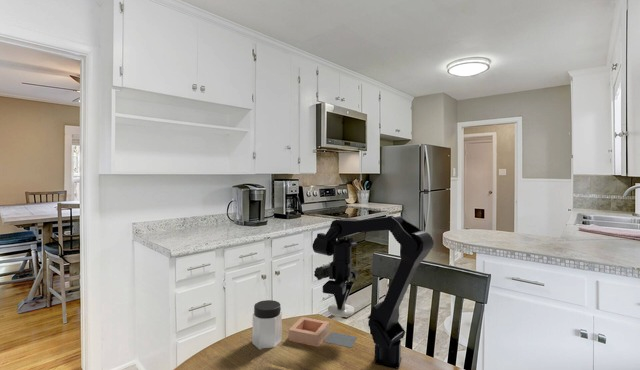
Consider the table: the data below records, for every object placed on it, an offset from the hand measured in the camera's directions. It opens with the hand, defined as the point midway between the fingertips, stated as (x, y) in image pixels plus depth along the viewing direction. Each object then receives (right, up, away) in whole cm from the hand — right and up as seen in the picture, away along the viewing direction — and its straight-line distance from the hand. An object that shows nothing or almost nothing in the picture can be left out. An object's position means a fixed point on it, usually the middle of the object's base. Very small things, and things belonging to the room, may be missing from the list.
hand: (341, 307), depth 101 cm
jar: (-23, -11, -2) cm, 26 cm away
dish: (-10, -11, +2) cm, 15 cm away
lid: (0, -1, 0) cm, 1 cm away
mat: (0, -11, 0) cm, 11 cm away
